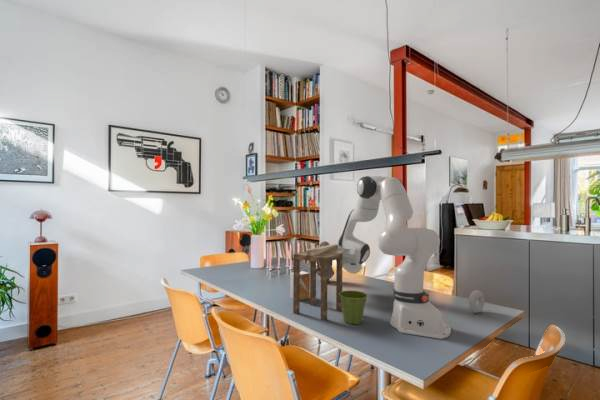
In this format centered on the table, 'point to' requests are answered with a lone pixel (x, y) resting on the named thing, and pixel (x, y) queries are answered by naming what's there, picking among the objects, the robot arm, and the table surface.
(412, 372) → the table surface
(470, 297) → the donut
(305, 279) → the small box
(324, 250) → the slat
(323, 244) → the clay figurine
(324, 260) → the stool
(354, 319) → the plant pot
